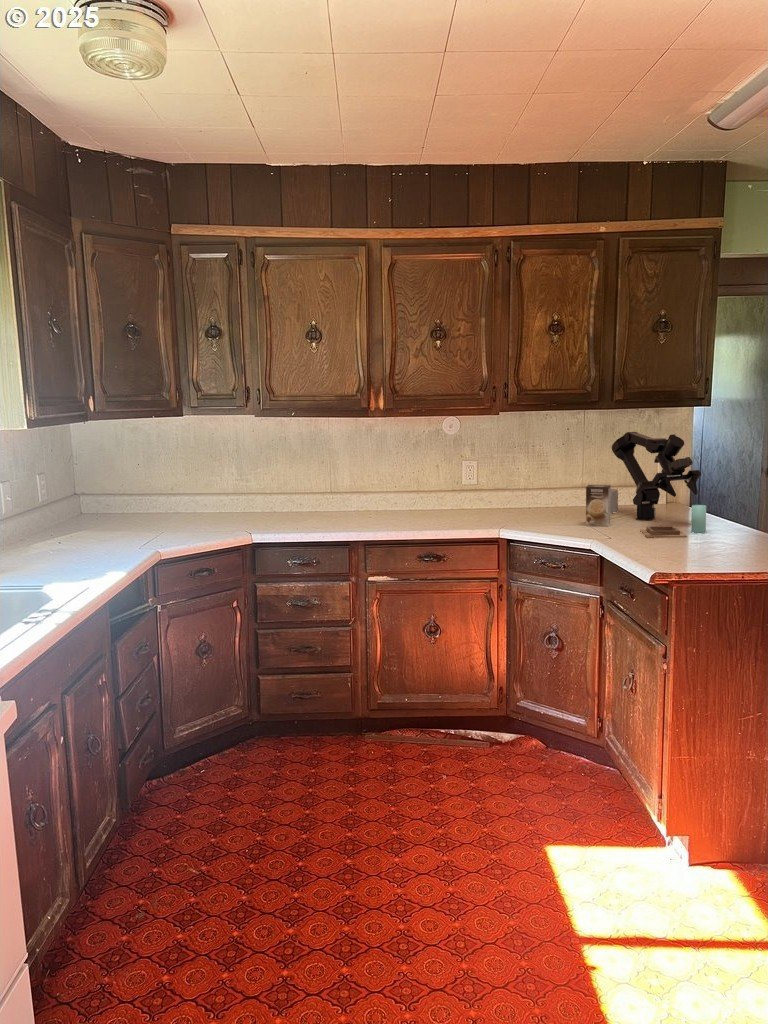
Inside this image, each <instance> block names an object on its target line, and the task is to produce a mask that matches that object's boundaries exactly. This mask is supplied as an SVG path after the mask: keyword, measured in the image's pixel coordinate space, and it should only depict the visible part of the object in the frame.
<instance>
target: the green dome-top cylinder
mask: <svg viewBox="0 0 768 1024" xmlns="http://www.w3.org/2000/svg"><path fill="white" fill-rule="evenodd" d="M690 518H691V521H690V524H691V525H690V527H691V528H690V529H691V531H690V533H692V532H694V533H693V534H697V533H702V534H706V533H707V505H705V504H692V505H691V517H690ZM705 532H706V533H705Z"/></svg>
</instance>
